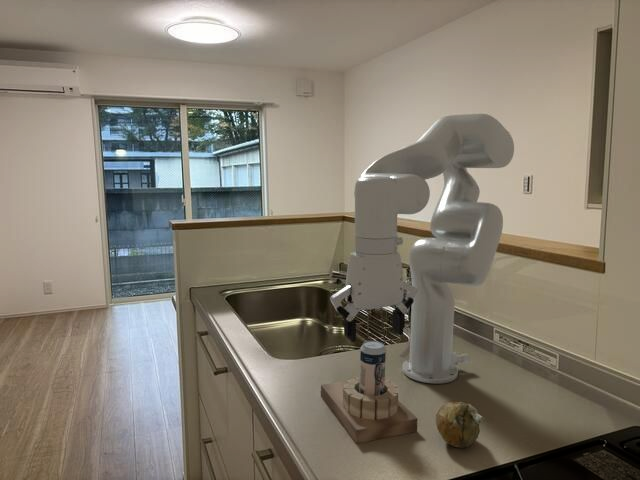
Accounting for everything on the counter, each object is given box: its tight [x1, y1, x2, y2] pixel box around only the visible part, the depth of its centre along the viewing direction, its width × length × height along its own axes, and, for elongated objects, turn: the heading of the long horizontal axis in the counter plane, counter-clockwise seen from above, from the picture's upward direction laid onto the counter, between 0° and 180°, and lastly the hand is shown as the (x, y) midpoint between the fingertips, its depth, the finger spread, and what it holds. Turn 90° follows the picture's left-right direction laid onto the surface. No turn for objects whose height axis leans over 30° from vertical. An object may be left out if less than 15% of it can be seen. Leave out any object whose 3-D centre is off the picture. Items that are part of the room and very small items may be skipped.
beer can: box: [359, 340, 387, 396], centre depth 89 cm, size 5×5×12 cm
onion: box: [435, 401, 485, 449], centre depth 82 cm, size 8×8×8 cm
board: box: [320, 376, 419, 444], centre depth 91 cm, size 12×18×6 cm, turn 20°
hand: (374, 335), depth 88 cm, fingers open, 9 cm apart
